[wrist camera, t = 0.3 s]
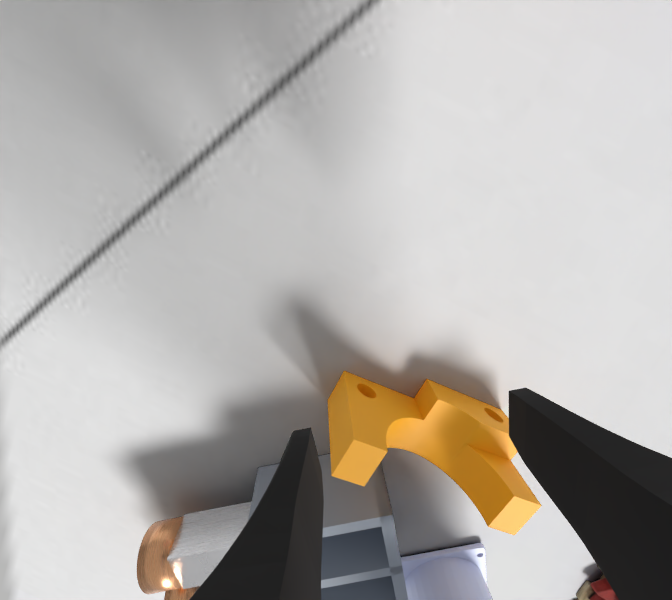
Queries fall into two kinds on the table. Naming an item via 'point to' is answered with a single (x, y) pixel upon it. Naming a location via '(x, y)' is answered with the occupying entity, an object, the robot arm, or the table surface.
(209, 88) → the table surface
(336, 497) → the mount
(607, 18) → the table surface
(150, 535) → the knob
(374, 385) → the pipe clamp
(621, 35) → the table surface
